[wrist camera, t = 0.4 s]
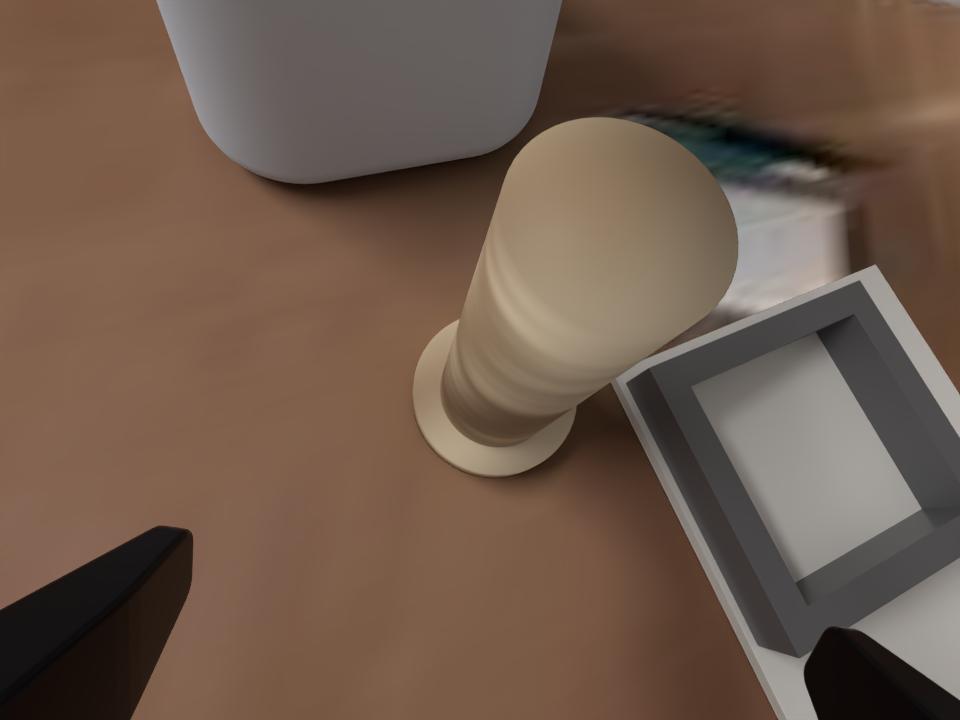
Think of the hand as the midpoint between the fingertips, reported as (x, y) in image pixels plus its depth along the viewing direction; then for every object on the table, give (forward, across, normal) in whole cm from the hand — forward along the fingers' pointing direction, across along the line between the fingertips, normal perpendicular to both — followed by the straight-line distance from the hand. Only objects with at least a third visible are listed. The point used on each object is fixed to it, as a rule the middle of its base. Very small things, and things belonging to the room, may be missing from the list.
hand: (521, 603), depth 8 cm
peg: (+14, -1, +3) cm, 15 cm away
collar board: (+13, -17, +5) cm, 22 cm away
